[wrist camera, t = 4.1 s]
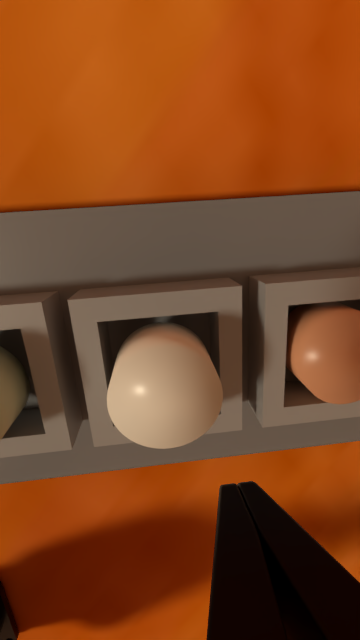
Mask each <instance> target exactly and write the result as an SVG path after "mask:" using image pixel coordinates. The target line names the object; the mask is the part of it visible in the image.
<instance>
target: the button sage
mask: <svg viewBox="0 0 360 640" xmlns="http://www.w3.org/2000/svg"><path fill="white" fill-rule="evenodd" d="M29 392H30V384H29V379H28V376H27V373H26V371H25V369H24V367H23V366H22V364H21V363H20V362H19V360H18V359H17V358H16V357H15V356H14V355H13V354H11V353H10V352H9V351H7V350H6V349H4V348H2V347H1V346H0V440H1V439H2V437H3V436H4V435H5V433H6V432H7V430H8V429H9V428H10V426H11V425H12V423H13V422H14V421H15V419H16V418H17V416H18V415H19V414H20V412H21V411H22V409H23V408H24V407H25V405H26V403H27V401H28V398H29Z"/></svg>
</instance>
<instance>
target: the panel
mask: <svg viewBox="0 0 360 640" xmlns="http://www.w3.org/2000/svg"><path fill="white" fill-rule="evenodd" d="M334 301H336V302H338V303H341V304H343V305H346V306H348V307H351V308H353V309H356V310H359V311H360V191H353V192H337V193H320V194H304V195H287V196H271V197H254V198H238V199H222V200H205V201H189V202H172V203H156V204H139V205H123V206H106V207H90V208H73V209H57V210H40V211H24V212H7V213H0V346H1V347H2V348H4V349H6V350H7V351H9V352H10V353H11V354H13V355H14V356H15V357H16V358H17V359H18V360H19V362H20V363H21V364H22V366H23V367H24V369H25V371H26V373H27V376H28V379H29V384H30V392H29V398H28V401H27V403H26V405H25V407H24V408H23V409H22V411H21V412H20V414H19V415H18V416H17V418H16V419H15V421H14V422H13V423H12V425H11V426H10V428H9V429H8V430H7V432H6V433H5V435H4V436H3V437H2V439H1V440H0V484H5V483H13V482H22V481H30V480H38V479H47V478H55V477H63V476H71V475H80V474H88V473H96V472H104V471H113V470H121V469H129V468H138V467H146V466H154V465H162V464H171V463H179V462H187V461H195V460H204V459H212V458H220V457H229V456H237V455H245V454H253V453H262V452H270V451H278V450H286V449H295V448H303V447H311V446H320V445H328V444H336V443H344V442H353V441H360V400H359V401H356V402H353V403H348V404H332V403H328V402H325V401H322V400H321V399H319V398H317V397H316V396H315V395H314V394H313V393H312V392H311V391H310V390H309V389H308V388H307V387H306V386H305V385H304V384H303V383H302V382H301V381H300V380H299V379H298V378H297V377H296V376H295V375H294V374H293V373H292V372H291V371H290V370H289V369H288V368H287V367H286V366H285V365H286V344H287V323H288V315H289V313H291V312H292V311H293V310H294V309H295V308H297V307H298V306H300V305H301V304H311V303H322V302H334ZM158 322H169V323H175V324H179V325H182V326H184V327H186V328H188V329H190V330H191V331H192V332H194V333H195V334H196V335H197V336H198V337H199V338H200V339H201V341H202V342H203V344H204V345H205V348H206V350H207V352H208V354H209V356H210V359H211V361H212V363H213V365H214V367H215V370H216V372H217V374H218V376H219V379H220V381H221V385H222V390H223V402H222V407H221V410H220V413H219V415H218V417H217V419H216V421H215V422H214V424H213V425H212V426H211V427H210V429H209V430H208V431H207V432H205V433H204V434H203V435H202V436H201V437H199V438H198V439H196V440H194V441H192V442H190V443H188V444H186V445H183V446H179V447H175V448H167V449H157V448H150V447H146V446H142V445H140V444H137V443H135V442H133V441H131V440H130V439H128V438H127V437H125V436H124V435H123V434H122V433H121V432H120V431H119V430H118V429H117V428H116V426H115V425H114V423H113V422H112V420H111V418H110V415H109V412H108V408H107V392H108V387H109V384H110V380H111V376H112V373H113V369H114V365H115V362H116V358H117V354H118V352H119V349H120V347H121V345H122V344H123V342H124V341H125V340H126V338H127V337H128V336H129V335H130V334H132V333H133V332H134V331H136V330H137V329H139V328H141V327H143V326H145V325H148V324H152V323H158Z"/></svg>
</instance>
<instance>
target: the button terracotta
mask: <svg viewBox="0 0 360 640" xmlns="http://www.w3.org/2000/svg"><path fill="white" fill-rule="evenodd" d="M285 366H286V367H287V368H288V369H289V370H290V371H291V372H292V373H293V374H294V375H295V376H296V377H297V378H298V379H299V380H300V381H301V382H302V383H303V384H304V385H305V386H306V387H307V388H308V389H309V390H310V391H311V392H312V393H313V394H314V395H315V396H316V397H317V398H319V399H321V400H322V401H325V402H328V403H332V404H348V403H353V402H356V401H359V400H360V311H359V310H356V309H353V308H351V307H348V306H346V305H343V304H341V303H338V302H336V301H334V302H322V303H311V304H301V305H300V306H298V307H297V308H295V309H294V310H293V311H292V312H291V313H289V315H288V323H287V344H286V365H285Z"/></svg>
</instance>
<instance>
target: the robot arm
mask: <svg viewBox="0 0 360 640" xmlns="http://www.w3.org/2000/svg"><path fill="white" fill-rule="evenodd" d="M18 635H19V632H18V629H17V626H16V623H15V620H14V618H13V615H12V612H11V609H10V606H9V603H8V601H7V598H6V595H5V592H4V589H3V586H2V584H1V582H0V640H17V638H18ZM207 640H360V583H359V582H358V581H357V580H356V579H355V578H354V577H353V576H352V575H351V574H350V573H349V572H348V571H347V570H346V569H345V568H344V567H343V566H342V565H341V564H340V563H339V562H338V561H337V560H335V559H334V558H333V557H332V556H331V555H330V554H329V553H328V552H327V551H326V550H325V549H324V548H323V547H322V546H321V545H320V544H319V543H318V542H317V541H316V540H315V539H314V538H313V537H312V536H310V535H309V534H308V533H307V532H306V531H305V530H304V529H303V528H302V527H301V526H300V525H299V524H298V523H297V522H296V521H295V520H294V519H293V518H292V517H291V516H290V515H289V514H288V513H287V512H285V511H284V510H283V509H282V508H281V507H280V506H279V505H278V504H277V503H276V502H275V501H274V500H273V499H272V498H271V497H270V496H269V495H268V494H267V493H266V492H265V491H264V490H263V489H262V488H260V487H259V486H258V485H257V484H256V483H255V482H253V481H249V482H241V483H238V484H237V485H236V484H234V483H233V484H225V485H221V486H220V489H219V501H218V512H217V524H216V536H215V547H214V559H213V571H212V582H211V594H210V606H209V617H208V629H207Z"/></svg>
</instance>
